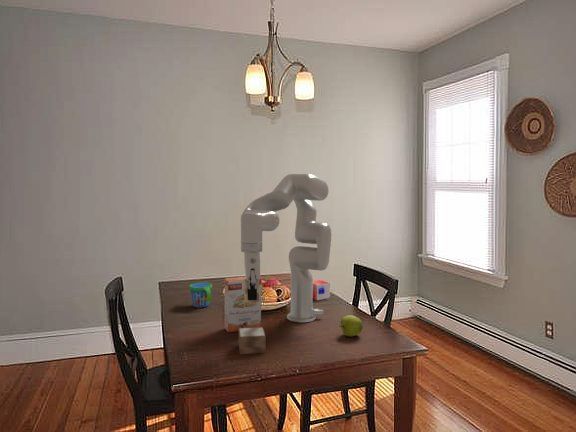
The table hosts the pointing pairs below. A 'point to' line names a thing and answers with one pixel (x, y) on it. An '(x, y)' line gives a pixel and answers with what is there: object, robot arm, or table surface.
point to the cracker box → (240, 306)
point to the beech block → (247, 291)
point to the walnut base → (252, 340)
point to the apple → (351, 325)
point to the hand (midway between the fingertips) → (251, 297)
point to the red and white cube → (321, 290)
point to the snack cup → (201, 294)
